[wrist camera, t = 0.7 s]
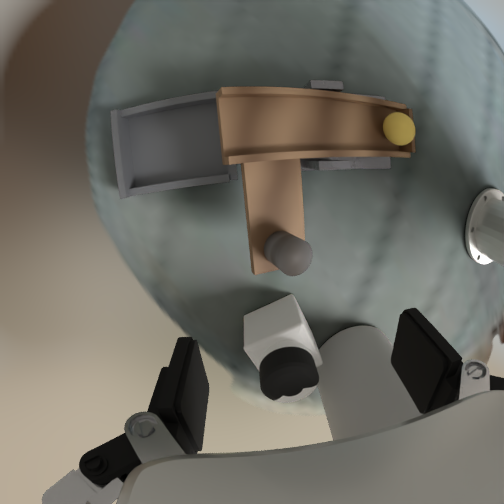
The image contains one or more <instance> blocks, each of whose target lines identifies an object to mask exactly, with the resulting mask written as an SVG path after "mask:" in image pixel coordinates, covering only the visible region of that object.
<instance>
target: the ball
mask: <svg viewBox="0 0 504 504" xmlns="http://www.w3.org/2000/svg"><path fill="white" fill-rule="evenodd" d="M383 131H384V134H385V136H386V138H387V139H388V140H389V141H390V142H392V143H393V144H396V145H406V144H408V143H410V142H411V141H412V140H413V138H414V136H415V126H414V123H413V121H412V120H411V118H410V117H408V116H407V115H406V114H403V113H400V112H394V113H391V114H389V115H388V116H387V117H386V118H385V120H384V122H383Z"/></svg>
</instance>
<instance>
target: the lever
mask: <svg viewBox="0 0 504 504" xmlns="http://www.w3.org/2000/svg"><path fill="white" fill-rule="evenodd" d="M216 103H217V113H218V124H219V134H220V144H221V153H222V163H223V165H231V164H240V163H241V170H242V180H243V190H244V200H245V210H246V220H247V229H248V239H249V249H250V259H251V268H252V273H253V274H254V275H257V274H262V273H266V272H270V271H274V270H279V269H280V270H281V271H282V272H283V273H285V274H286V275H289V276H297V275H300V274H302V273H303V272H305V271H306V270H307V268H308V267H309V266H310V264H311V261H312V257H313V253H312V248H311V246H310V245H309V243H308V242H306V241H305V232H304V211H303V194H302V179H301V165H300V158H321V157H407V158H410V152H415V153H416V150H415V136H414V138H413V140H412V141H411V142H410V143H408V144H406V145H396V144H393V143H392V142H390V141H389V140H388V139H387V138H386V136H385V134H384V131H383V122H384V120H385V118H386V117H387V116H388V115H389V114H391V113H394V112H400V113H403V114H406V115H407V116H408V117H410V118H411V120H412V121H413V113H412V109H407V108H406V105H405V104H401V103H397V102H392V101H388V100H383V99H378V98H373V97H367V96H361V95H355V94H349V93H341V92H334V91H325V90H315V89H303V88H288V87H221V88H220V89H219V91H218V92H217V93H216Z"/></svg>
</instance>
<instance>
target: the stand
mask: <svg viewBox="0 0 504 504" xmlns="http://www.w3.org/2000/svg"><path fill="white" fill-rule="evenodd" d="M303 89H315V90H325V91H334V92H340V91H342V90H343V89H344V88H343V81H326V80H310V81H309V82H308V83H307V85H306V86H305V87H304V88H303ZM355 95H361V96H367V97H373V98H378V99H383V100H385V97H382V96H373V95H362V94H355ZM300 165H301V171H307V170H344V169H391V161H390V157H321V158H300Z"/></svg>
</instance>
